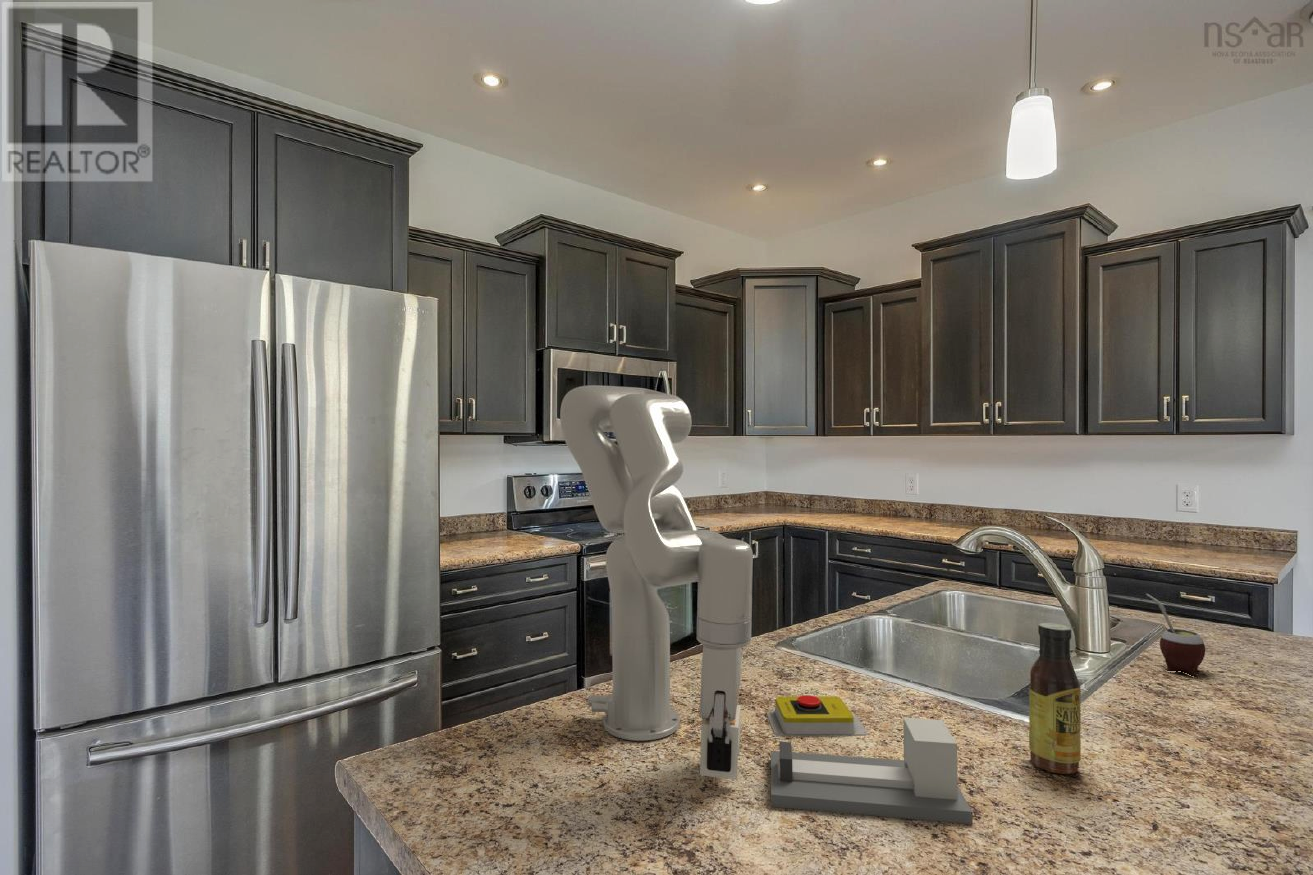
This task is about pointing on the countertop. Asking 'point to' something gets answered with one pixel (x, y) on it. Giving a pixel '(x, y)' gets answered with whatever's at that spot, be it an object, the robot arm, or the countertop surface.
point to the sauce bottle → (1054, 704)
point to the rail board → (877, 779)
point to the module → (734, 748)
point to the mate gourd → (1181, 647)
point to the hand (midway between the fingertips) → (720, 754)
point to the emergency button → (814, 717)
